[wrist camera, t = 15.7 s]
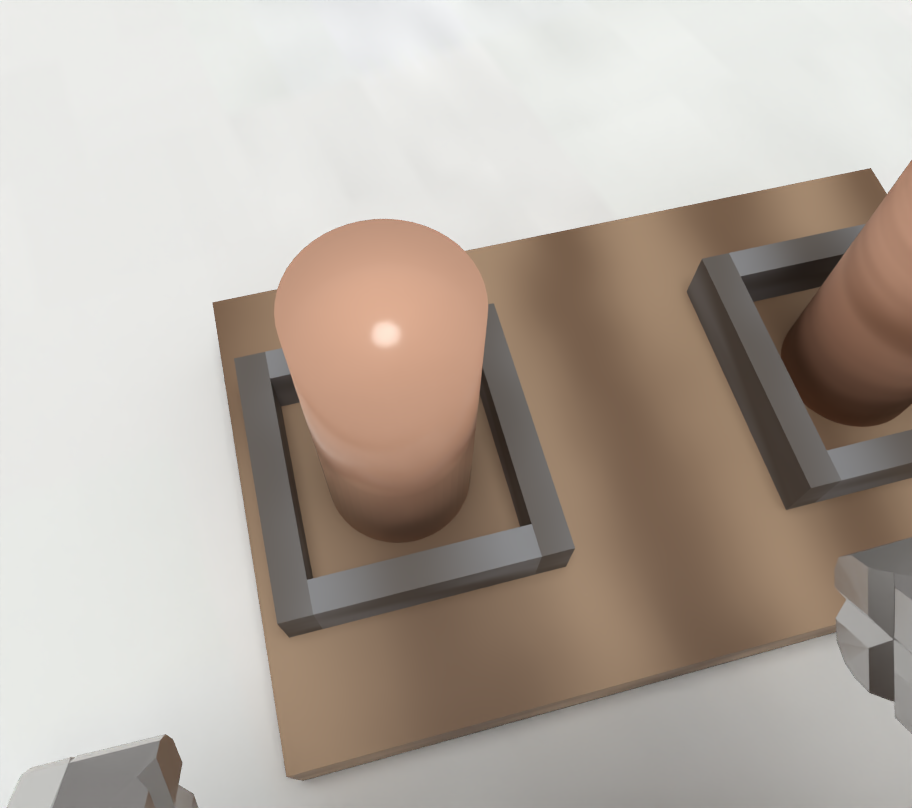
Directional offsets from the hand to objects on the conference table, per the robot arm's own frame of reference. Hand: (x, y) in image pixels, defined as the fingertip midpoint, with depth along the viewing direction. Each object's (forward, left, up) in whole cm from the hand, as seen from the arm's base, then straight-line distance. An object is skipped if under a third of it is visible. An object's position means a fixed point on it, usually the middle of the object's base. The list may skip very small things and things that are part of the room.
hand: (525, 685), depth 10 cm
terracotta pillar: (0, -9, -15) cm, 17 cm away
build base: (-8, -9, -18) cm, 21 cm away
